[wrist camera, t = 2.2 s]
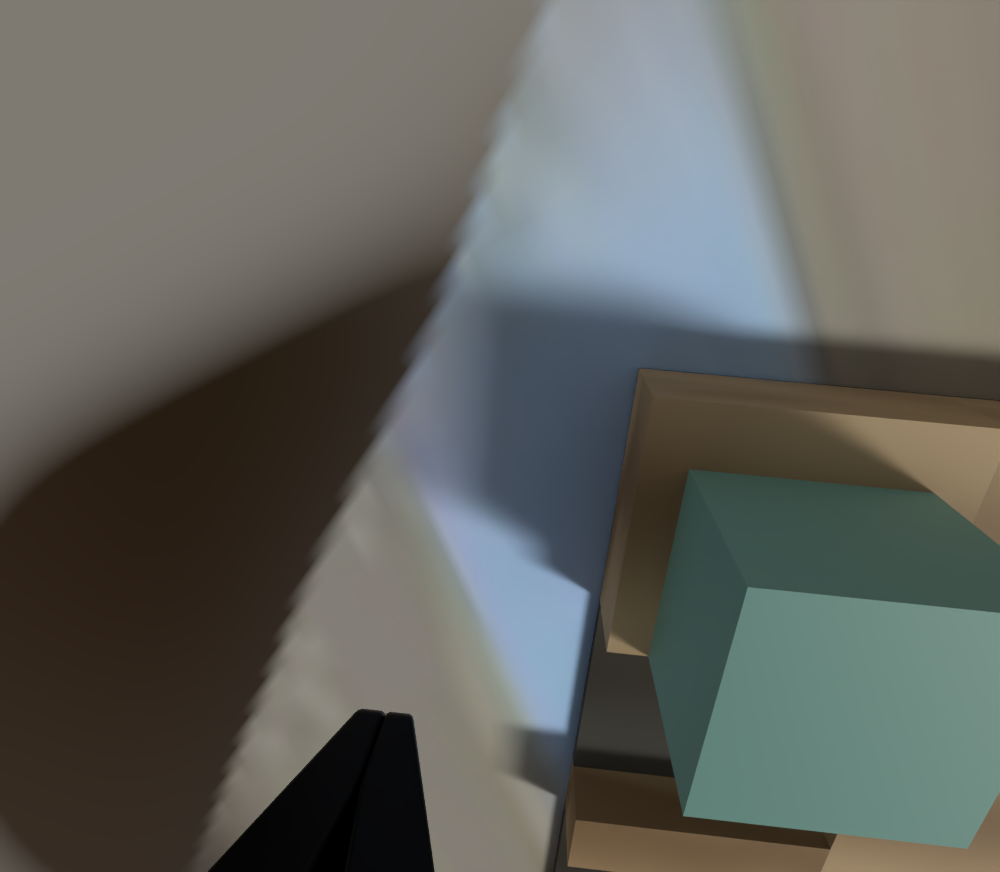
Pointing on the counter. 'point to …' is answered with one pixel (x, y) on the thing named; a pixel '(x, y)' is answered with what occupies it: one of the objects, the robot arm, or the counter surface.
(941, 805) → the block
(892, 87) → the counter surface
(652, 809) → the tray
